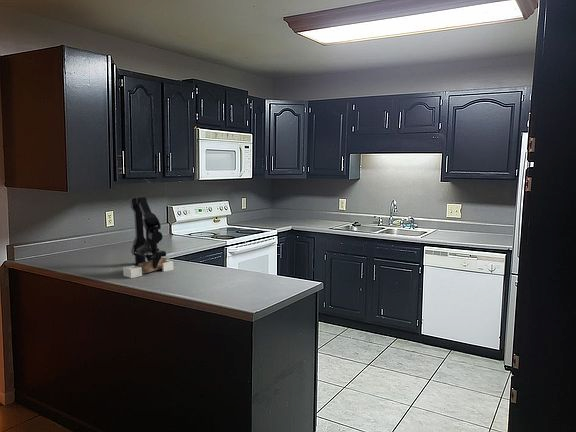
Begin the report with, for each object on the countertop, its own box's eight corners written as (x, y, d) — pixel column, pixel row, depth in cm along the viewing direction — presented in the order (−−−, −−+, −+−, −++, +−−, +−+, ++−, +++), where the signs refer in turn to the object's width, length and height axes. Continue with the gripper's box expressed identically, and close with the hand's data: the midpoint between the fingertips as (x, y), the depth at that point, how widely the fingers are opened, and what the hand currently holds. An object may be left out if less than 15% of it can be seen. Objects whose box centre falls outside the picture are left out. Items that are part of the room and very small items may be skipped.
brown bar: (162, 266, 260) (162, 257, 260) (167, 267, 258) (166, 258, 258) (138, 272, 248) (138, 263, 247) (142, 273, 246) (142, 264, 245)
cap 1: (123, 275, 245) (123, 267, 244) (134, 273, 249) (133, 265, 249) (131, 278, 239) (130, 269, 239) (142, 275, 244) (141, 267, 243)
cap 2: (155, 269, 259) (155, 261, 258) (165, 267, 263) (165, 259, 263) (163, 271, 253) (163, 263, 253) (173, 269, 258) (173, 261, 257)
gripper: (129, 239, 251) (130, 268, 253) (147, 243, 239) (148, 273, 241) (147, 237, 260) (149, 264, 261) (166, 240, 247) (167, 269, 249)
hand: (153, 267), depth 253 cm, fingers closed on brown bar, 4 cm apart
